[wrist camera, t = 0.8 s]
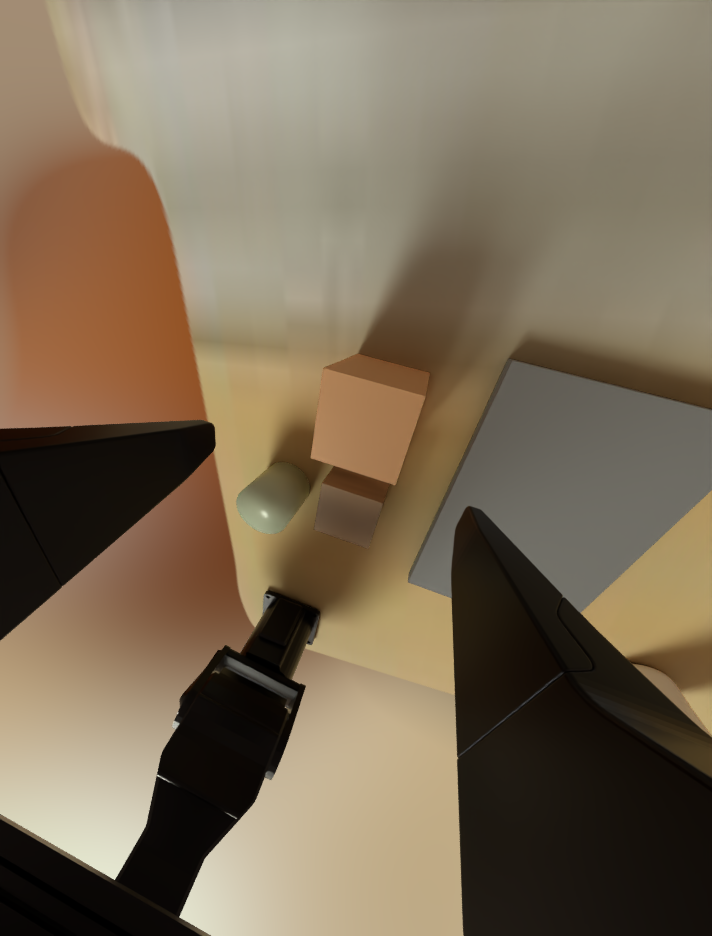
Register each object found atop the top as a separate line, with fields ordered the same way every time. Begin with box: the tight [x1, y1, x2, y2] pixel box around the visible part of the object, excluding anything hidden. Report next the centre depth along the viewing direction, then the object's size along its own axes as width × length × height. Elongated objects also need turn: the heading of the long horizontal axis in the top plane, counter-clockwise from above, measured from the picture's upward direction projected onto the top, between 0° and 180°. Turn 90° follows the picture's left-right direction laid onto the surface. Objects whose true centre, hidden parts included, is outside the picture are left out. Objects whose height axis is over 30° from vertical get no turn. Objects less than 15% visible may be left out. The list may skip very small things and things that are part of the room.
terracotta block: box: [311, 354, 430, 485], centre depth 15 cm, size 4×4×6 cm
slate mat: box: [408, 358, 712, 613], centre depth 18 cm, size 18×12×1 cm, turn 169°
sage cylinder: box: [236, 462, 310, 534], centre depth 21 cm, size 4×4×4 cm
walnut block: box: [314, 466, 390, 549], centre depth 20 cm, size 4×4×4 cm
